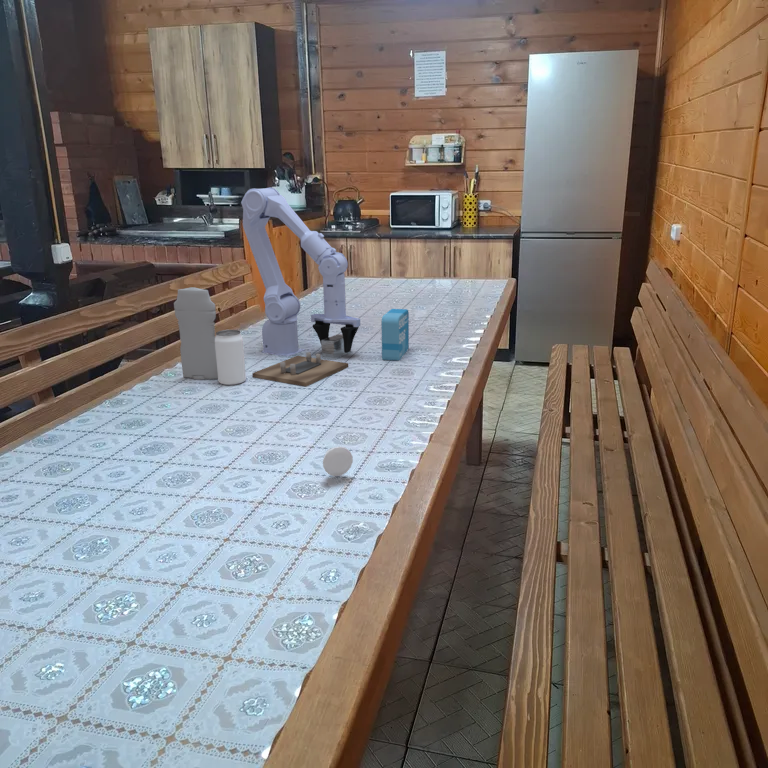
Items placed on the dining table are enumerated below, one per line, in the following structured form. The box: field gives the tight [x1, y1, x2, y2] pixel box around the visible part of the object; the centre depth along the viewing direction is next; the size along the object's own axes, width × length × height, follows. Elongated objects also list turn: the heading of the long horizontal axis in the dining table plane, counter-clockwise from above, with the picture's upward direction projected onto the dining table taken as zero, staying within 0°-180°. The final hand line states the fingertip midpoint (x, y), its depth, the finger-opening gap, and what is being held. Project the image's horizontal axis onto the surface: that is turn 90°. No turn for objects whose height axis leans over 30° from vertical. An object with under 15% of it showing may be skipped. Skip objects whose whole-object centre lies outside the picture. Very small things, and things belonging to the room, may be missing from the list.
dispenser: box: [173, 286, 218, 381], centre depth 160 cm, size 11×4×22 cm, turn 77°
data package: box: [380, 308, 410, 362], centre depth 178 cm, size 12×4×12 cm, turn 165°
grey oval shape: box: [322, 446, 354, 477], centre depth 111 cm, size 5×3×5 cm, turn 113°
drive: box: [320, 333, 352, 361], centre depth 181 cm, size 4×8×5 cm, turn 150°
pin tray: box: [252, 351, 349, 387], centre depth 166 cm, size 16×18×4 cm
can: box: [215, 329, 247, 386], centre depth 158 cm, size 6×6×12 cm
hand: (336, 350), depth 181 cm, fingers open, 7 cm apart
